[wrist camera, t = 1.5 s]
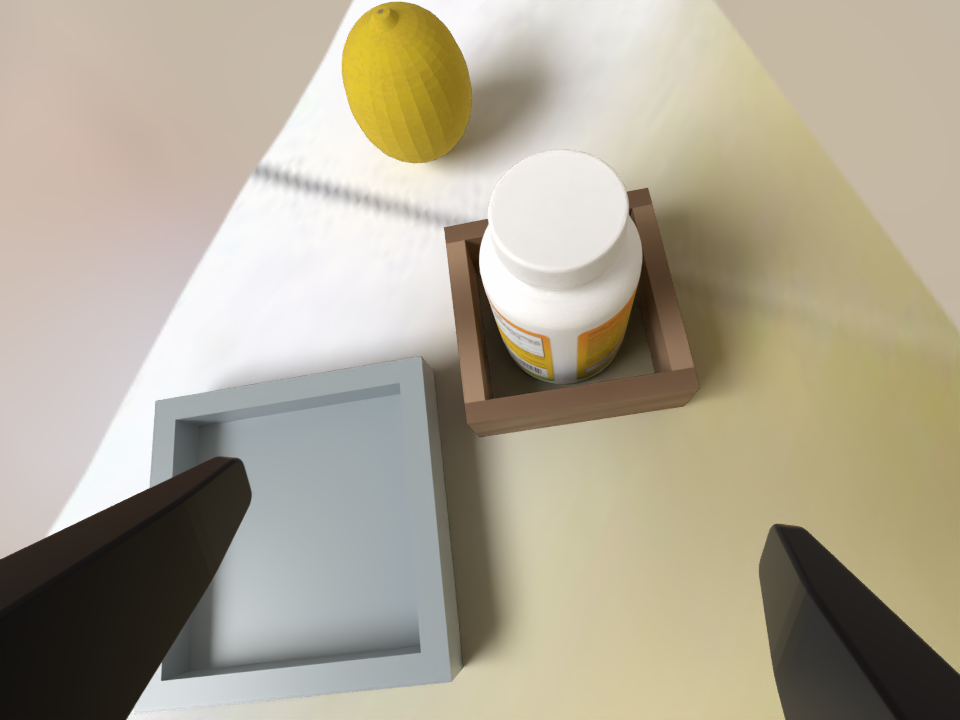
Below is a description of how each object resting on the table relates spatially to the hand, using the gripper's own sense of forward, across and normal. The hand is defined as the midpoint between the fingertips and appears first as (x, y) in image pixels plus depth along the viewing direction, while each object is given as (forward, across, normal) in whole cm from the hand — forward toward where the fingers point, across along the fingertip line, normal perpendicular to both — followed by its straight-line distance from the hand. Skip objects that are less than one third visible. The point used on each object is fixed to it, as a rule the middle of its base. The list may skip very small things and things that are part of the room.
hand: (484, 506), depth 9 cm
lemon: (+23, +7, -2) cm, 24 cm away
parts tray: (+9, +10, +11) cm, 17 cm away
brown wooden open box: (+16, 0, +4) cm, 16 cm away
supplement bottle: (+16, 0, +4) cm, 16 cm away
